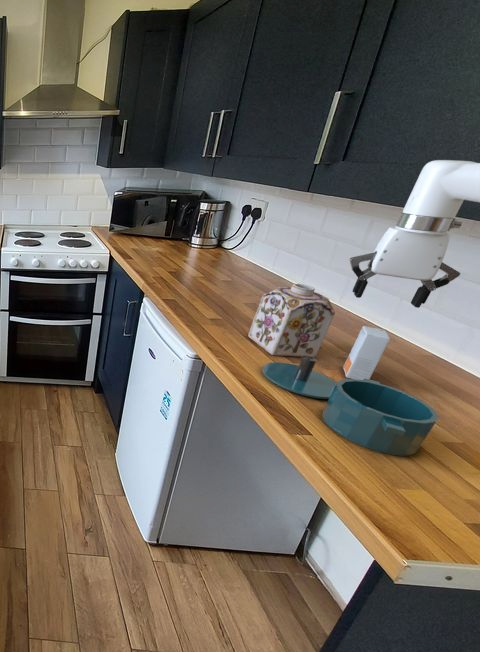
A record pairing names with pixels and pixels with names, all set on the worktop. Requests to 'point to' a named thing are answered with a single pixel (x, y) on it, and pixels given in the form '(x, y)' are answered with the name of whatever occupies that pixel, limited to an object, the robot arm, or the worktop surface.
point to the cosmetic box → (366, 353)
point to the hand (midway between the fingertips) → (385, 300)
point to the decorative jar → (292, 321)
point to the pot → (379, 416)
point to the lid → (300, 378)
